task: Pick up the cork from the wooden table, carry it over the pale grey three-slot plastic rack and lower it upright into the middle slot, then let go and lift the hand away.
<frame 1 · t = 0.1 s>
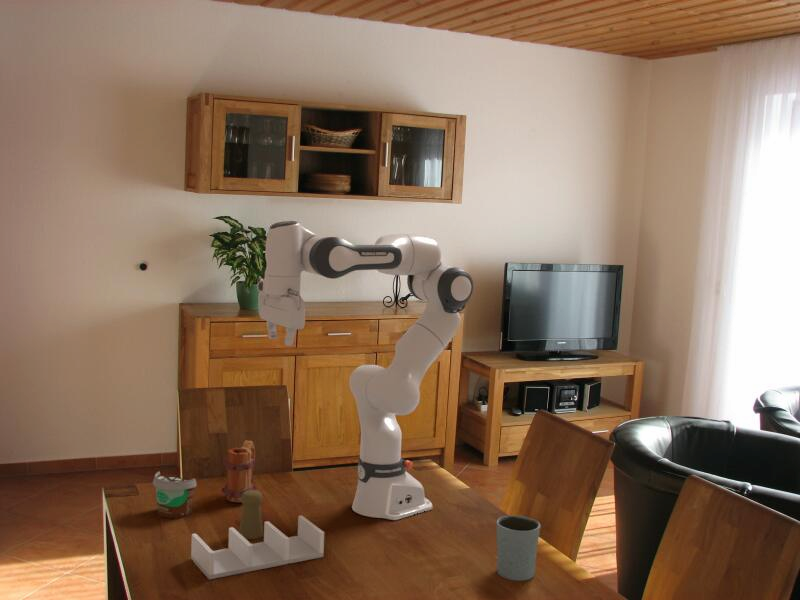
hand: (280, 342, 218), 48 cm above the table, tool pointing down, fingers open, 8 cm apart
mug: (241, 497, 244), on the table
slot rack: (258, 557, 204), on the table
food container: (169, 515, 228), on the table
cork: (250, 535, 218), on the table
grey cup: (515, 573, 203), on the table
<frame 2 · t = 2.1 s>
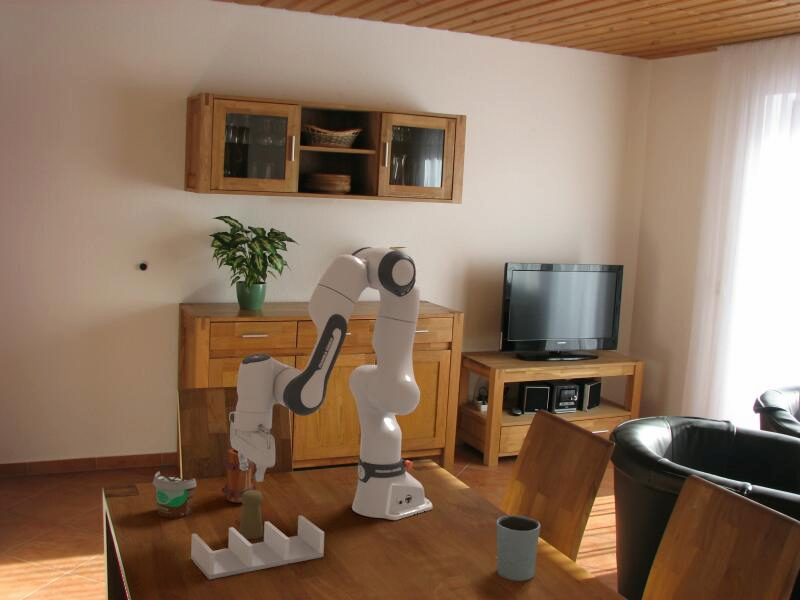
hand: (251, 475, 216), 15 cm above the table, tool pointing down, fingers open, 8 cm apart
nothing on the table moved.
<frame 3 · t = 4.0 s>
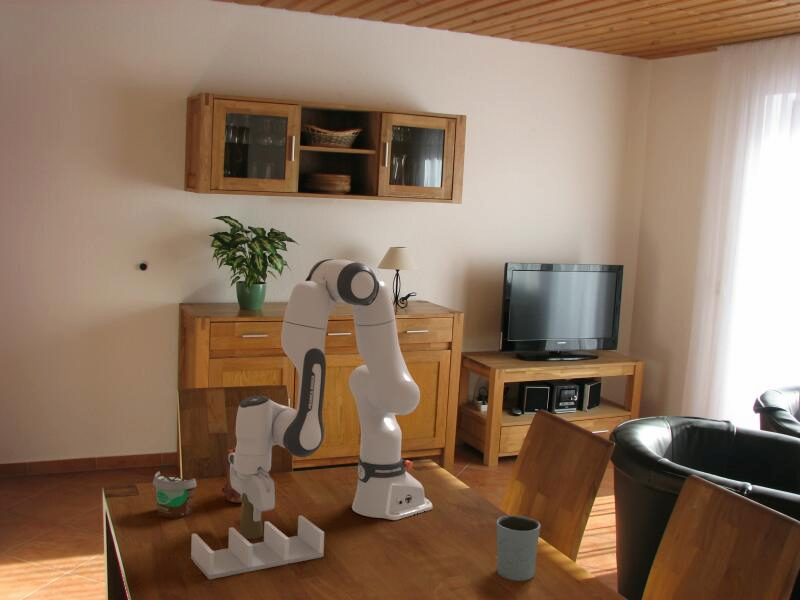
hand: (251, 516, 217), 5 cm above the table, tool pointing down, fingers closed on cork, 4 cm apart
cork: (250, 535, 218), on the table, touching gripper
everything else where it was.
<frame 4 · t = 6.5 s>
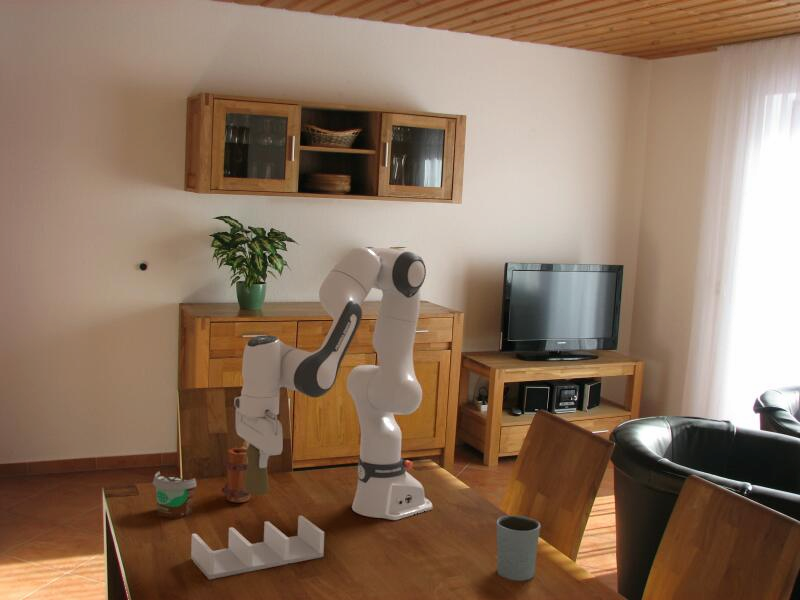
hand: (257, 463, 204), 22 cm above the table, tool pointing down, fingers closed on cork, 4 cm apart
cork: (256, 491, 205), point 15 cm above the table, touching gripper
everything else where it was.
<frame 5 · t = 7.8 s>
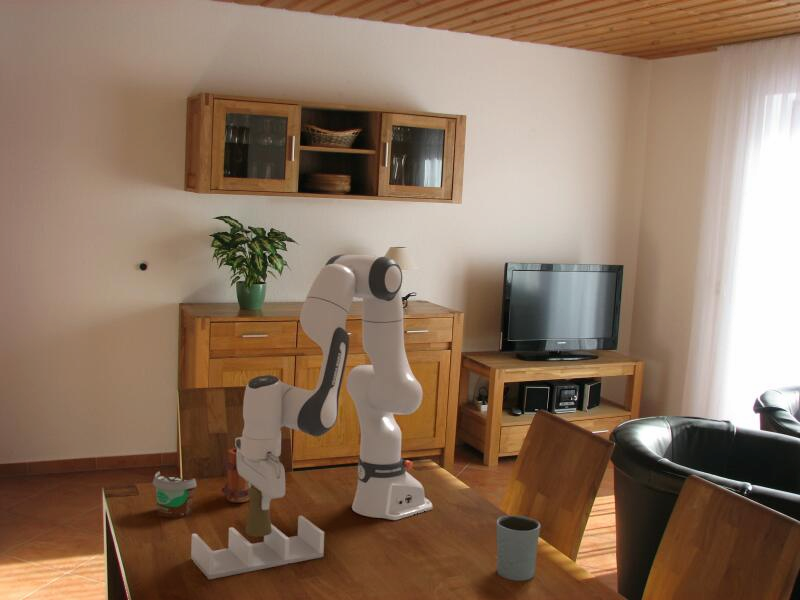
hand: (259, 505, 203), 13 cm above the table, tool pointing down, fingers closed on cork, 4 cm apart
cork: (258, 532, 203), point 6 cm above the table, touching gripper
everything else where it was.
when the fingers open (7 cm above the table, at t = 9.3 s): cork stays where it is, resting on slot rack.
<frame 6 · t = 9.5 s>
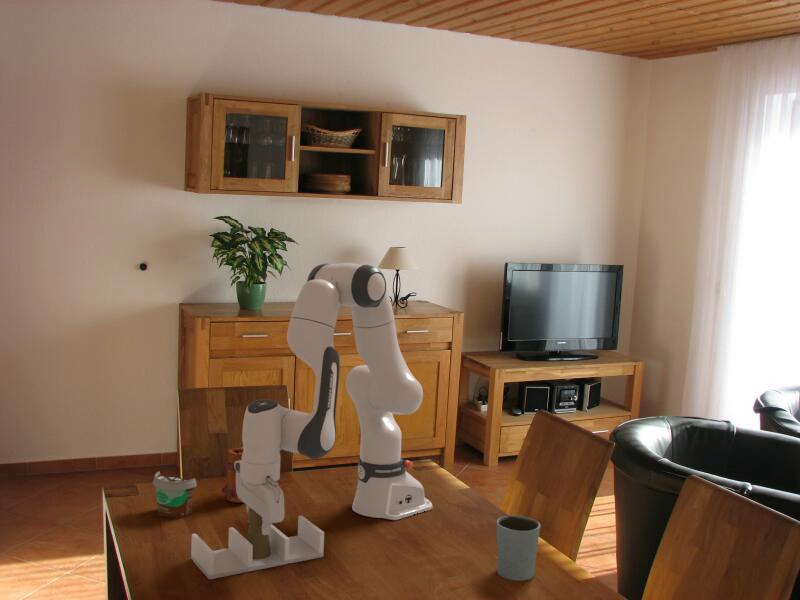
hand: (258, 528, 203), 7 cm above the table, tool pointing down, fingers open, 5 cm apart
cork: (257, 554, 204), point 1 cm above the table, touching slot rack
everything else where it was.
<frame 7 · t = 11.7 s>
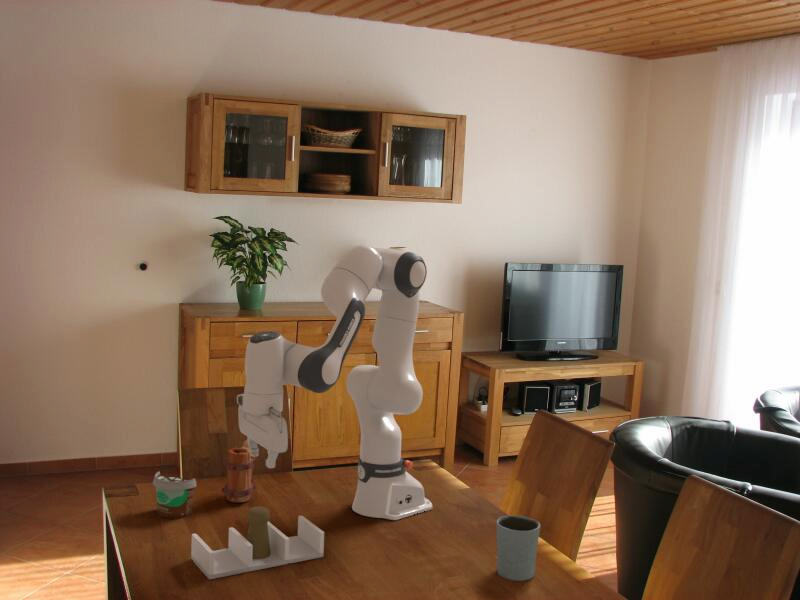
hand: (262, 461, 202), 23 cm above the table, tool pointing down, fingers open, 8 cm apart
nothing on the table moved.
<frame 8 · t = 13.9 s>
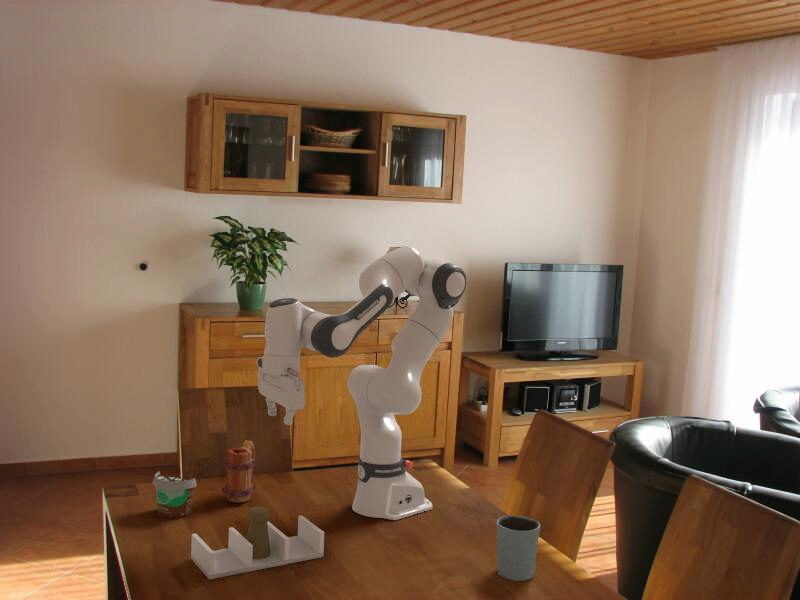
hand: (280, 419, 216), 29 cm above the table, tool pointing down, fingers open, 8 cm apart
nothing on the table moved.
at the end: cork inside the target area on the slot rack (0.1 cm from its centre), point 0.8 cm above the slot rack's base; cork tilted 0°; the gripper is holding nothing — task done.
